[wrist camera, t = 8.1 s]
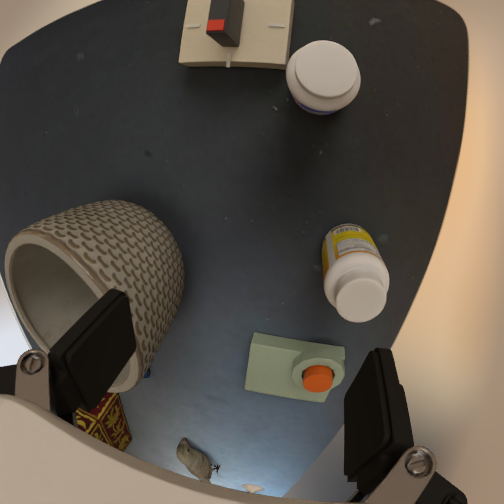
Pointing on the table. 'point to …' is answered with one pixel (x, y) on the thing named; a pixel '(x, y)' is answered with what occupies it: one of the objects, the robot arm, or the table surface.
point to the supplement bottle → (354, 273)
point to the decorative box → (106, 422)
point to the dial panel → (251, 39)
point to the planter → (97, 275)
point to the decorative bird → (195, 461)
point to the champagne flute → (252, 488)
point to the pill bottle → (323, 77)
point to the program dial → (225, 22)
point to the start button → (318, 378)
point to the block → (290, 366)
